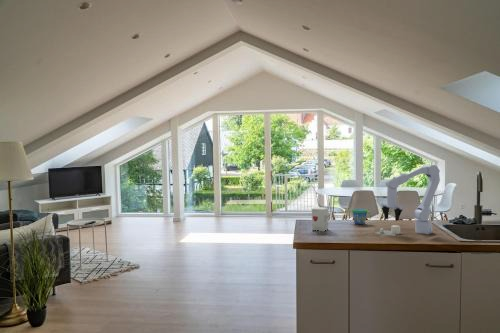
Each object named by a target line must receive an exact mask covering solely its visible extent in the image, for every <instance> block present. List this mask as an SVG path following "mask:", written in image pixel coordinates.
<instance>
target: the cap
mask: <svg viewBox="0 0 500 333" xmlns="http://www.w3.org/2000/svg"><path fill="white" fill-rule="evenodd" d="M390 227H391V229H390V231H391V233H394V234H398V235H400V234H399V233H400V232H401V226H400V225H391V226H390Z"/></svg>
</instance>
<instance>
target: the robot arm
mask: <svg viewBox="0 0 500 333" xmlns="http://www.w3.org/2000/svg"><path fill="white" fill-rule="evenodd" d="M440 171H441V170H440V169H439V168H438V166H437V165H435V164H424V165H421V166H420V167H418V168H417V167H416V168H415V169H413V170H411V171H409V172H407V173H405V172H403V173H402V172H401V173H399V175H397V176H392V178H388V179H387V180H386V183H385V186H386V187H387V189H386V190H387V192H386V203H381V204H380V206H381V210H382V212H383V215H384V219H385V220H388V219H389V215H390V214H389V212H390V209H393V212H394V217H395V218H394V220H395V222H396V221H399V219H400V217H401V214H402V212H403V209H404V206H403V205H399V204H397V203H398V187H399V186H401V185H403V184H406V183H407V182H409V180H410V179H411V178H415V177H416V176H419V175H425V176H426V177H427V178H428V180H429V182H428V185H427V187H426V190H425V192H424V194H423V197H422V199H421V203H420V204H419V205H418V206H417V207H416V209H414V211H413V216H414V217H415V222H414V224H415V225H414V226H415V227H414V228H415V231H414V232H415V233H417V234H426V235H431V234H433V222H432V221H430V220H428V219H429V218H430V212H431V209H430V206H431V205H432V204H431V203H432V201H433V199H434V196H435V194H436V191H437V188H438V186H439V184H440V181H441V179H440Z"/></svg>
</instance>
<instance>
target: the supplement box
mask: <svg viewBox="0 0 500 333" xmlns="http://www.w3.org/2000/svg"><path fill="white" fill-rule="evenodd" d="M327 229H328V230H329V207H324V206H323V207H322V206H321V207H319V206H315V207H313V208H311V231H312V230H319V231H318V232H324V231H325V230H326V231H328V230H327ZM326 231H325V232H326Z"/></svg>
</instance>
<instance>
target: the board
mask: <svg viewBox="0 0 500 333" xmlns="http://www.w3.org/2000/svg"><path fill="white" fill-rule="evenodd" d="M375 234H377V235H384V236H390V237H394V236H399V235H401V234H403V232H401V231H400V233H399V234H394V233H391V230H387V229H384V228H380V229H379V231H376V232H375Z"/></svg>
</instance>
